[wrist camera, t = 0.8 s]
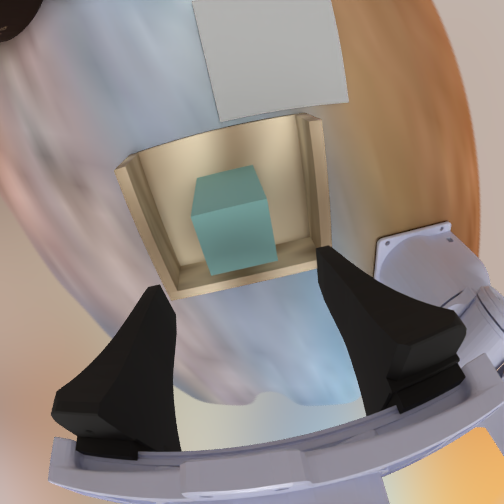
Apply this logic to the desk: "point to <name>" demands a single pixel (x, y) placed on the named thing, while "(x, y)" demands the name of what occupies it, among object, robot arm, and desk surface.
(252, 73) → the pad
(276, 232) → the tan shallow tray
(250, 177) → the block
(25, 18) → the coffee mug
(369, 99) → the desk surface
